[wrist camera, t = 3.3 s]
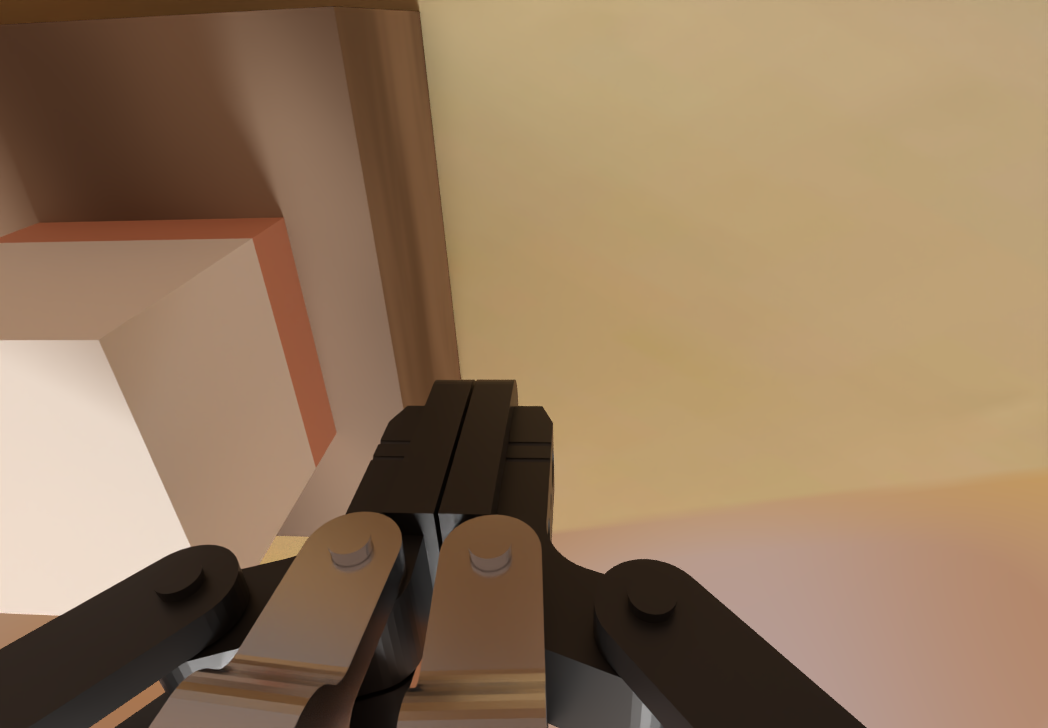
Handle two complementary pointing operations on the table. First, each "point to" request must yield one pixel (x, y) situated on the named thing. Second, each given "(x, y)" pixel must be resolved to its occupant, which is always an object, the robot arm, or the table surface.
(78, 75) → the stair block
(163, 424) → the cube
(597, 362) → the table surface
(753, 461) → the table surface
